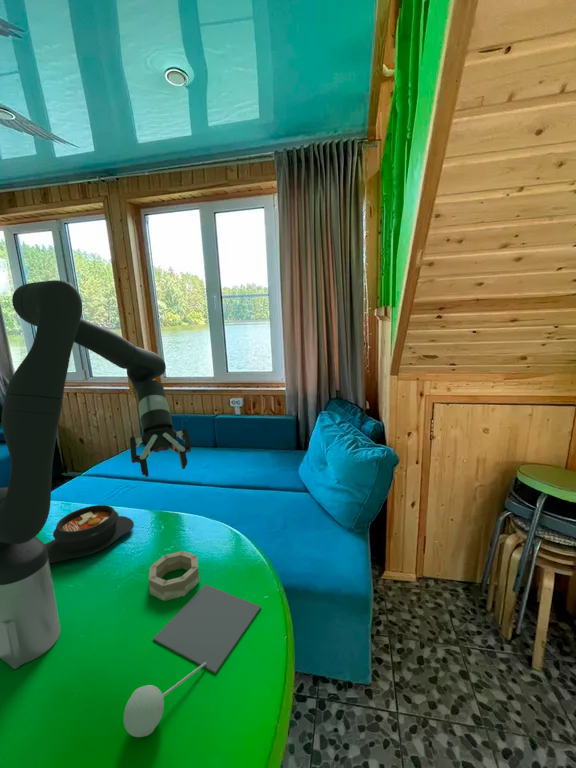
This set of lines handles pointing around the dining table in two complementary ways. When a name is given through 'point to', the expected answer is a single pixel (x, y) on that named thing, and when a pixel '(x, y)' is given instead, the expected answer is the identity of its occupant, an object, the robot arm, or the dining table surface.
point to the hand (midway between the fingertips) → (165, 471)
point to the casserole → (86, 532)
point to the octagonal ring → (177, 585)
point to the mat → (208, 627)
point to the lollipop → (147, 708)
